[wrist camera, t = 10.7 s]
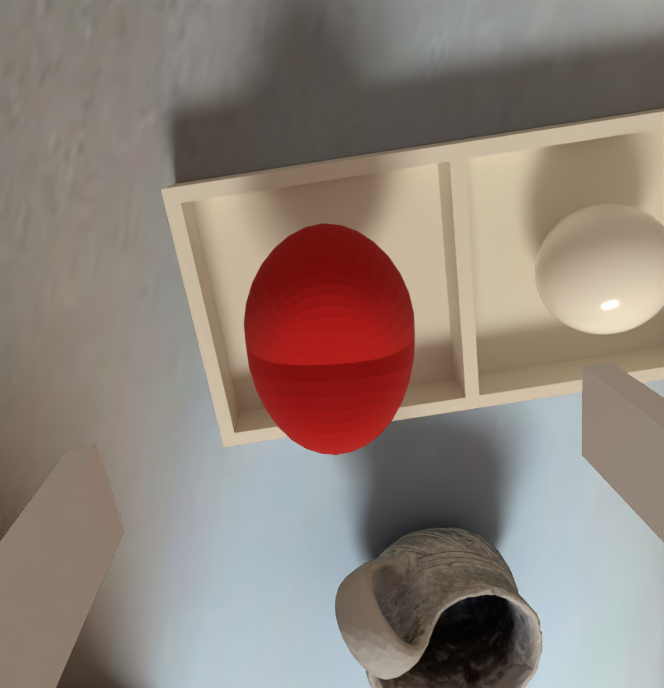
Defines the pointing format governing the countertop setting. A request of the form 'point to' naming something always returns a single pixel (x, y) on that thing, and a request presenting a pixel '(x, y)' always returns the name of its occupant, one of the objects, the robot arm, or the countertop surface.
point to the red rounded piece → (330, 338)
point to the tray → (430, 257)
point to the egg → (603, 269)
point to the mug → (439, 615)
